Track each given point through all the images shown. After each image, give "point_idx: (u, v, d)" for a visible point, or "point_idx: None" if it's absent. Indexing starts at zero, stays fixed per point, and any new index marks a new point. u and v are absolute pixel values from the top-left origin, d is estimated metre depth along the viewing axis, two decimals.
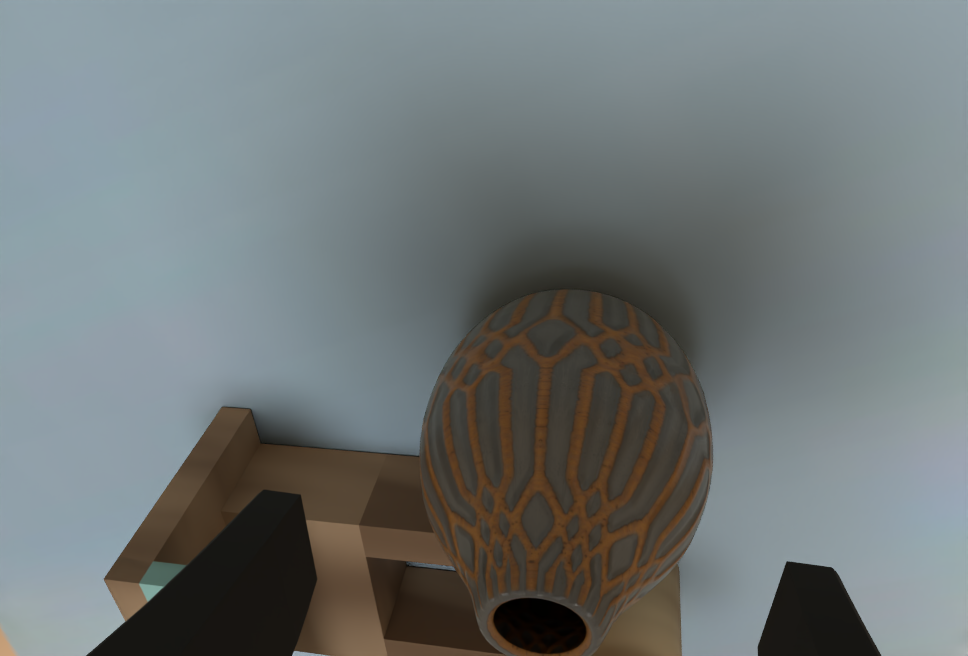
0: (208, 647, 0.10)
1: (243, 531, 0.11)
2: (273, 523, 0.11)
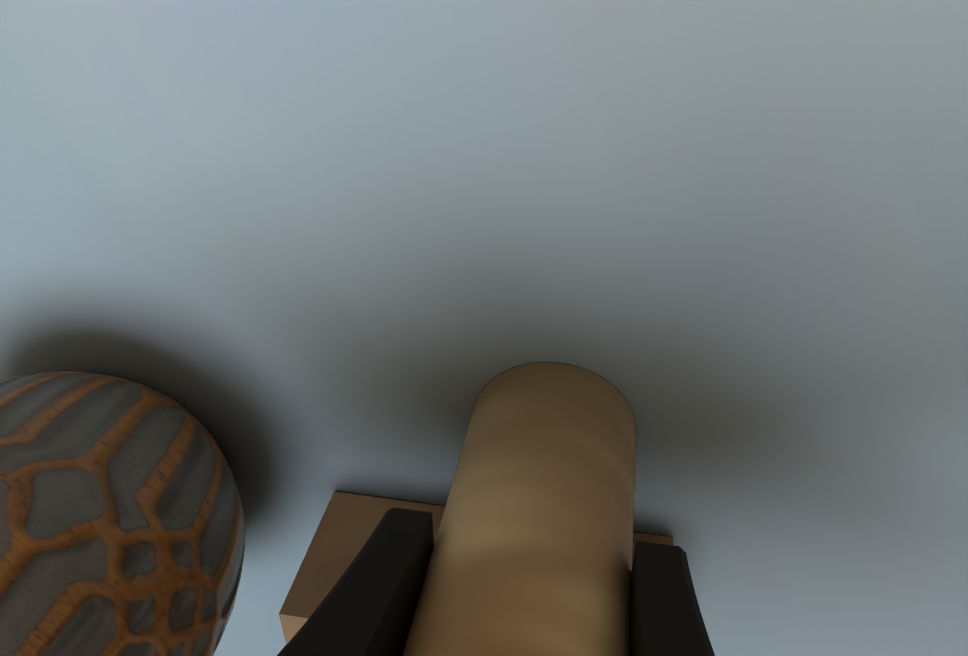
0: None
1: (384, 552, 0.11)
2: (413, 543, 0.11)
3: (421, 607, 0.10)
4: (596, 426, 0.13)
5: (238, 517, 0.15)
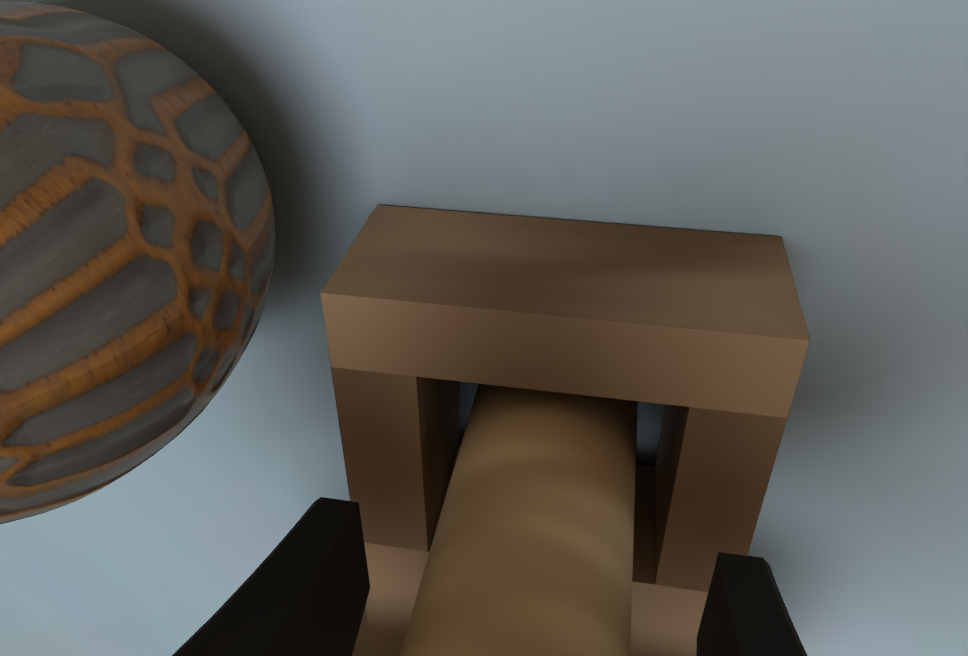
0: None
1: (305, 540, 0.11)
2: (335, 532, 0.11)
3: (446, 512, 0.12)
4: None
5: (269, 200, 0.13)
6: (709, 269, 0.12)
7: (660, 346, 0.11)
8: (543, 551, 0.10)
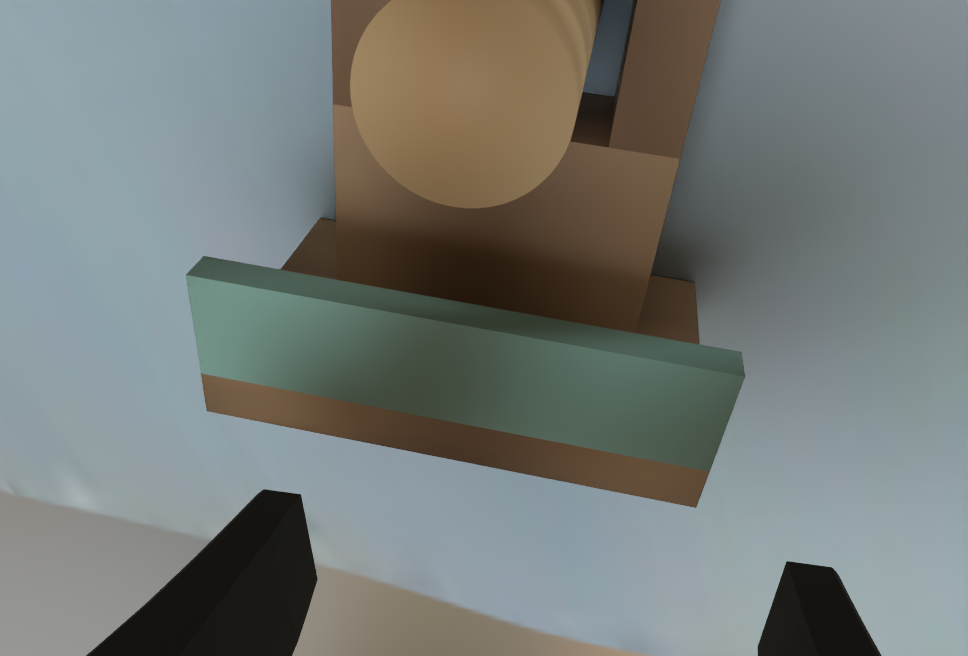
0: (208, 647, 0.10)
1: (243, 531, 0.11)
2: (273, 523, 0.11)
3: None
4: None
5: None
6: None
7: None
8: None
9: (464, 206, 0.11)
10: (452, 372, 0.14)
